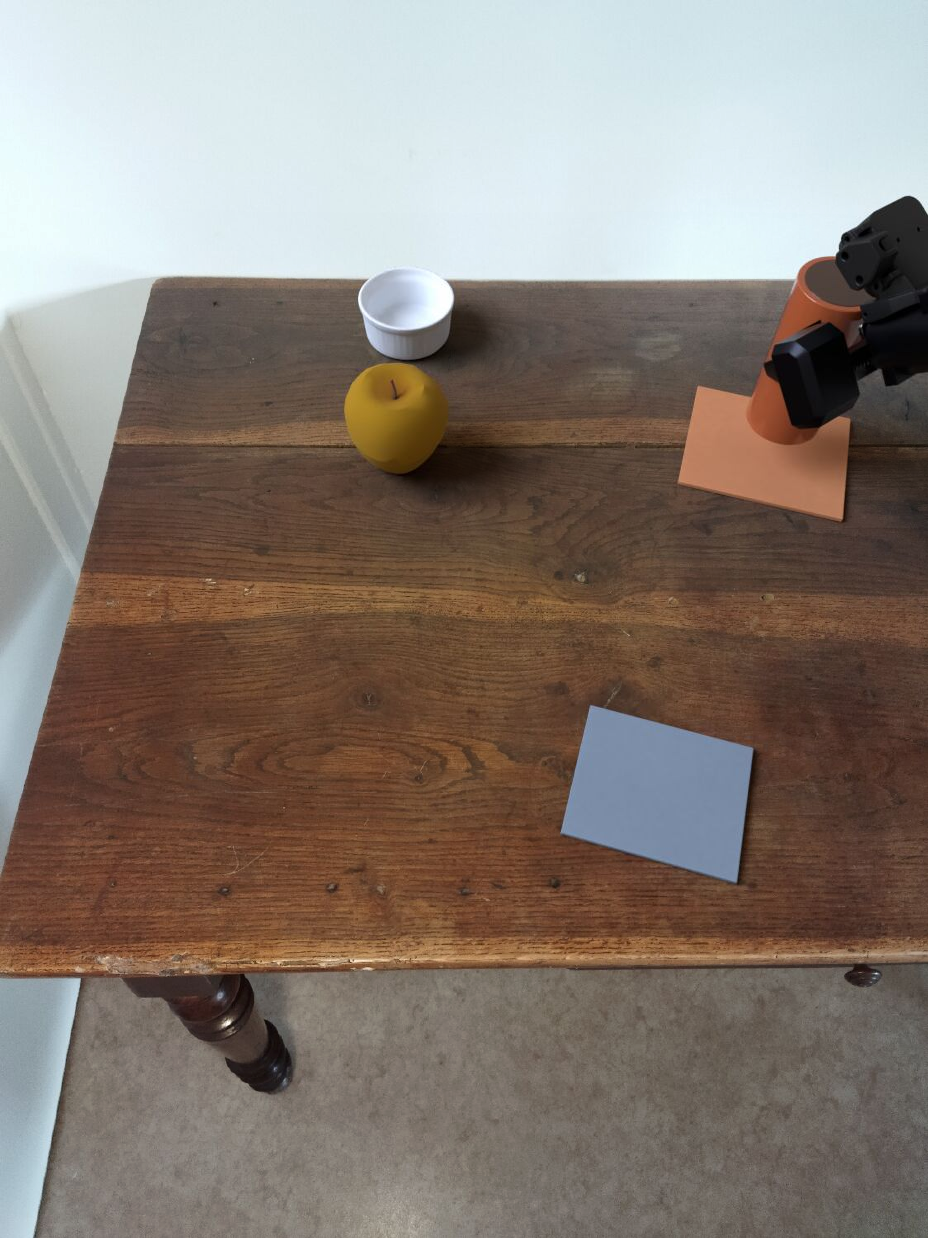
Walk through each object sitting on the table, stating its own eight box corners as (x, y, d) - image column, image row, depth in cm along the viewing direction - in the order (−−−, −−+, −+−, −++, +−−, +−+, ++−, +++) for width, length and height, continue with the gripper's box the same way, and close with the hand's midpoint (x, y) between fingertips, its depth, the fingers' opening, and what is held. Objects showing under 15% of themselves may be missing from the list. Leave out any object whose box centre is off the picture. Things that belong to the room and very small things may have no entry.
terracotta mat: (849, 421, 81) (850, 418, 80) (841, 522, 75) (843, 519, 74) (697, 388, 82) (698, 385, 82) (677, 484, 77) (678, 481, 76)
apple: (455, 427, 79) (457, 351, 72) (437, 501, 75) (437, 428, 67) (362, 413, 80) (354, 336, 72) (339, 485, 76) (328, 411, 68)
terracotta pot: (832, 438, 74) (902, 303, 62) (764, 451, 73) (821, 316, 61) (800, 386, 77) (860, 249, 65) (734, 399, 76) (783, 261, 65)
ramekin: (343, 330, 85) (338, 293, 82) (412, 290, 89) (411, 252, 85) (403, 379, 82) (401, 343, 78) (472, 336, 85) (474, 299, 82)
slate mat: (752, 750, 64) (753, 747, 64) (735, 884, 59) (737, 882, 59) (589, 707, 65) (590, 704, 65) (560, 834, 60) (560, 832, 60)
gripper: (1047, 141, 57) (849, 210, 71) (848, 243, 51) (676, 296, 65) (1078, 311, 60) (883, 344, 74) (895, 425, 54) (721, 437, 68)
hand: (795, 352), depth 70 cm, fingers closed on terracotta pot, 6 cm apart
